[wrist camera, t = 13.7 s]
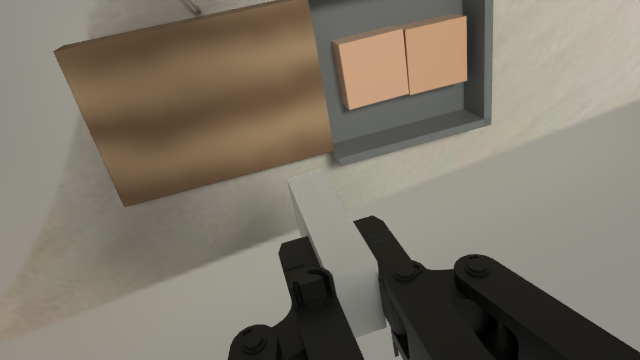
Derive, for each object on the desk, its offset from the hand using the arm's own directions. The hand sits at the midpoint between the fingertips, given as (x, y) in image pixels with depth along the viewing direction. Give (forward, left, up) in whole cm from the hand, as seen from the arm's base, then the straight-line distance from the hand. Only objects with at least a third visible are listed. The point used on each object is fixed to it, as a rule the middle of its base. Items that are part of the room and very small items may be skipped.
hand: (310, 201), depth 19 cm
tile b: (+1, +17, -24) cm, 29 cm away
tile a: (+1, +11, -24) cm, 26 cm away
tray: (+1, +14, -25) cm, 28 cm away
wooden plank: (+1, -4, -25) cm, 25 cm away
